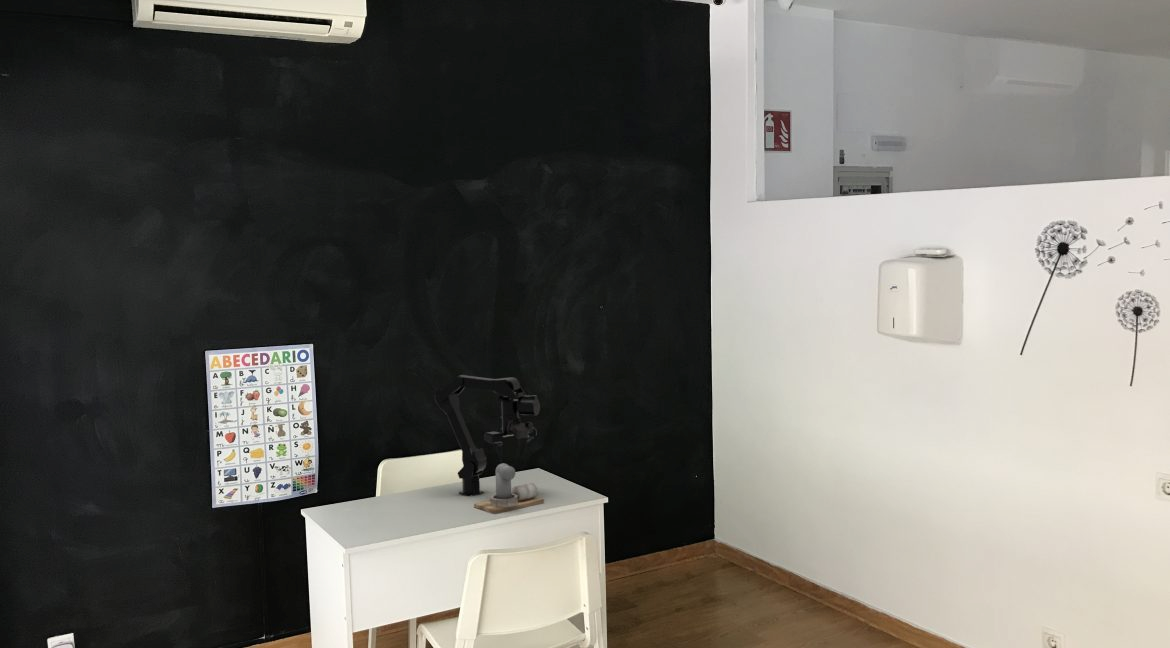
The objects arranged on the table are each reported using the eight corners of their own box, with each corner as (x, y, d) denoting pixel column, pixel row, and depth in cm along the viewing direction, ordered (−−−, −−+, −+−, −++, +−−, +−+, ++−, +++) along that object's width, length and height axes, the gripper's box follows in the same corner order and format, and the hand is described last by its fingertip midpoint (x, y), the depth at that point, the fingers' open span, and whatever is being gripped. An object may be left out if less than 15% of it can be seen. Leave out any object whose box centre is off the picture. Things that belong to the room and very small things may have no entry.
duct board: (474, 507, 300) (473, 488, 300) (523, 496, 313) (522, 479, 312) (494, 514, 291) (493, 495, 291) (543, 502, 304) (543, 484, 303)
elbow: (493, 503, 300) (492, 463, 299) (507, 501, 302) (506, 461, 302) (503, 507, 294) (502, 466, 293) (517, 505, 296) (516, 464, 296)
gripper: (500, 420, 301) (502, 466, 301) (545, 413, 312) (546, 458, 313) (482, 416, 309) (483, 461, 310) (526, 410, 321) (528, 453, 322)
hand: (511, 459), depth 314 cm, fingers open, 9 cm apart
